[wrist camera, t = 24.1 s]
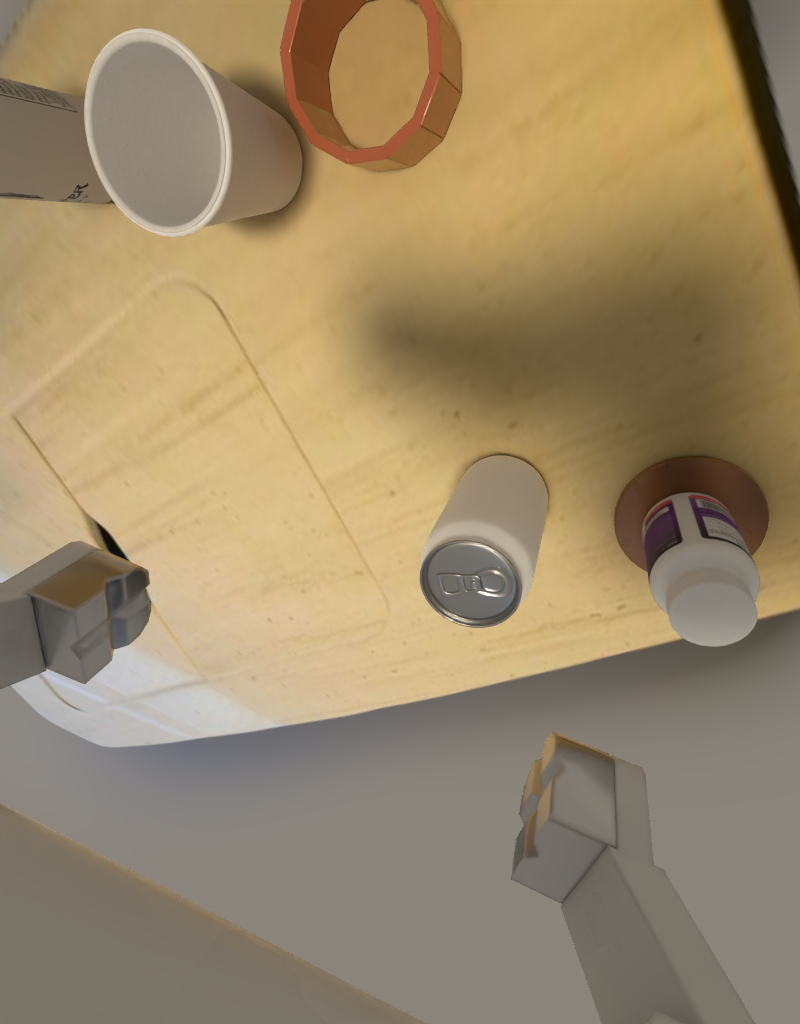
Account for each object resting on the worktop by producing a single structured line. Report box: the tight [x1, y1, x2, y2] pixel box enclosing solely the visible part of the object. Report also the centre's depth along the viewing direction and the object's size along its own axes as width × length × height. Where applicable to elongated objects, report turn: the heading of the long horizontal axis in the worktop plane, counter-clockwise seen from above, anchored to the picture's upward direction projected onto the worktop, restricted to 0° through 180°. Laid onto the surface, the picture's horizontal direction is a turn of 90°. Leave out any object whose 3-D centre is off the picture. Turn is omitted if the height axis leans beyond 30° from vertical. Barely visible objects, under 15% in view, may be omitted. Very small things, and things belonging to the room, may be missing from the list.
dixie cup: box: [84, 28, 303, 237], centre depth 30 cm, size 8×8×10 cm
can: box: [420, 455, 548, 628], centre depth 34 cm, size 6×6×12 cm
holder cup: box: [280, 0, 462, 172], centre depth 28 cm, size 8×8×4 cm
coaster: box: [614, 456, 769, 572], centre depth 36 cm, size 9×9×1 cm
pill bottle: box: [642, 492, 760, 646], centre depth 31 cm, size 5×5×10 cm
